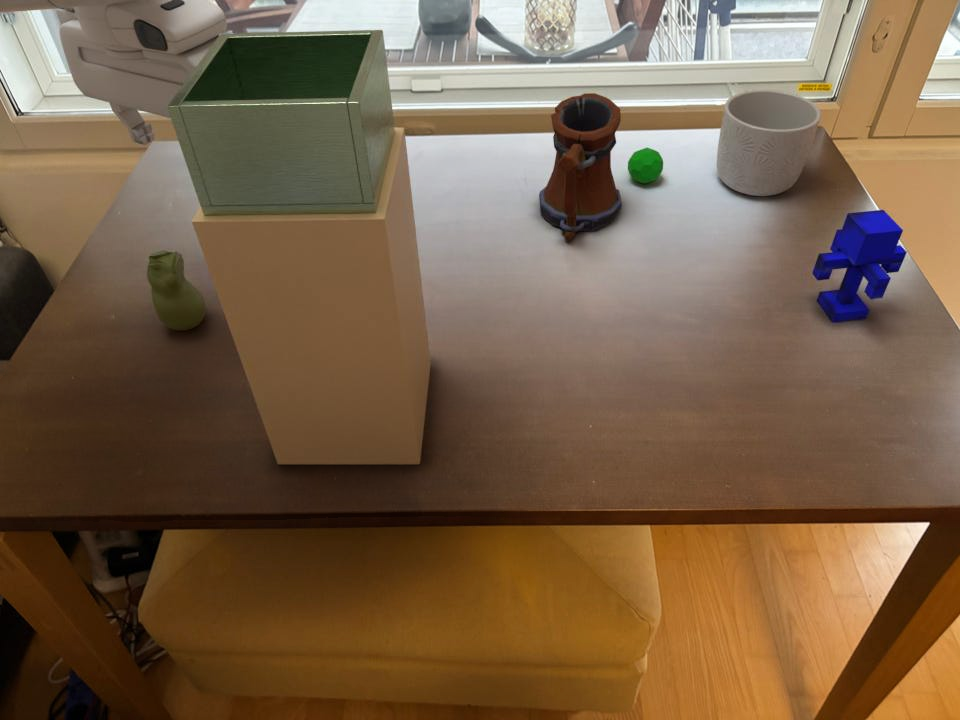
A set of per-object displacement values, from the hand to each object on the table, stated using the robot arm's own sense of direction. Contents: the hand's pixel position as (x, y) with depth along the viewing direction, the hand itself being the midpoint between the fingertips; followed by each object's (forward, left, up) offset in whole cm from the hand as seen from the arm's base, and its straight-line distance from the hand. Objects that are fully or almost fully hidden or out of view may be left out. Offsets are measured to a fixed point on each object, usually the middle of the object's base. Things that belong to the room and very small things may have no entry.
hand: (177, 150), depth 76 cm
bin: (-3, -25, -21) cm, 32 cm away
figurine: (+43, -58, -21) cm, 75 cm away
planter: (+64, -38, -21) cm, 77 cm away
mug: (+40, -23, -21) cm, 51 cm away
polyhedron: (+55, -25, -21) cm, 64 cm away
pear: (-5, +2, -21) cm, 22 cm away
